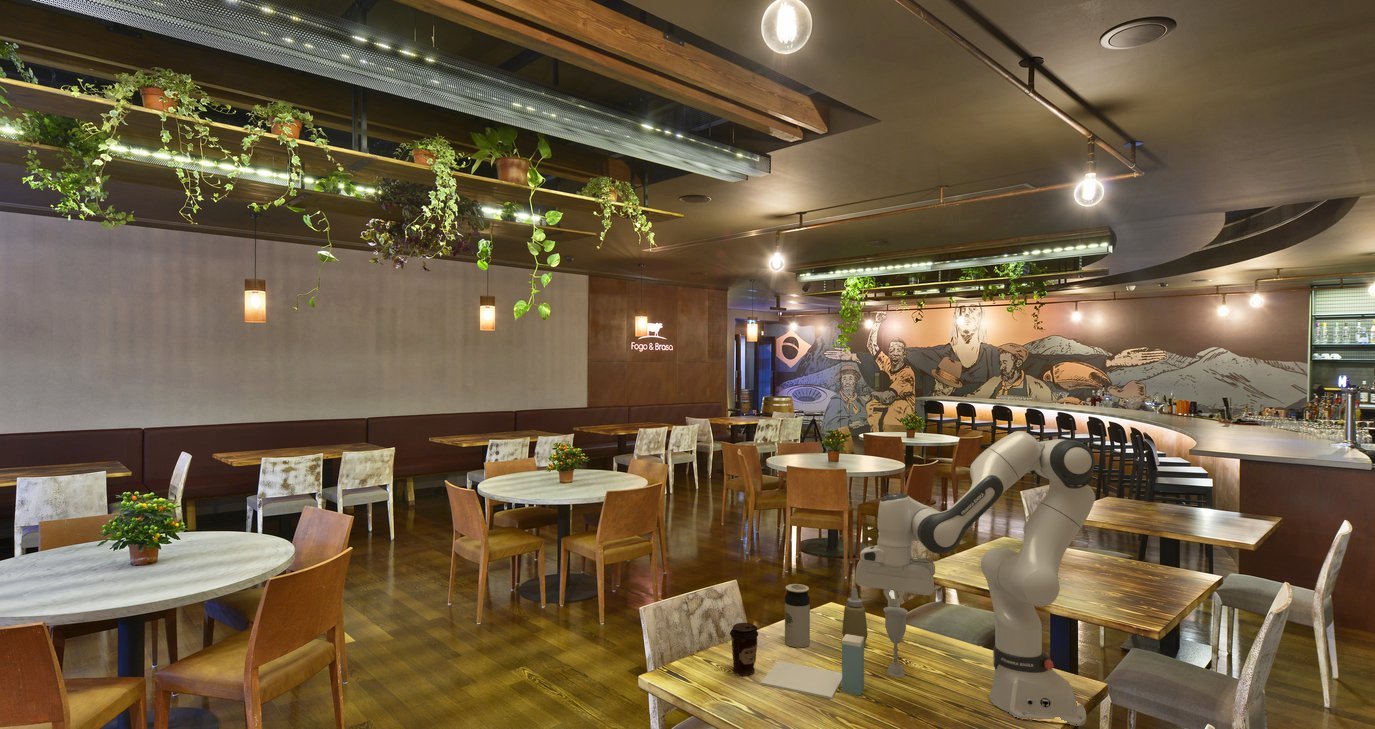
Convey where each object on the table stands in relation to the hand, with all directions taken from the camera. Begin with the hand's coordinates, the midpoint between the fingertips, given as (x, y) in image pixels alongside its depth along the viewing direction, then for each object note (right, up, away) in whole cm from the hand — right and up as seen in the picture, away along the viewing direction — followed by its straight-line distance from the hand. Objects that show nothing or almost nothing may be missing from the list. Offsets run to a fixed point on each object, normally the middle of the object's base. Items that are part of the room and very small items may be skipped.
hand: (893, 606), depth 182 cm
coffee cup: (-39, -25, +16) cm, 49 cm away
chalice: (+5, -25, +15) cm, 29 cm away
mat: (-22, -25, +10) cm, 35 cm away
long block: (-10, -24, +4) cm, 27 cm away
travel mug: (-20, -25, +37) cm, 49 cm away
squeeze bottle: (-2, -25, +36) cm, 44 cm away
